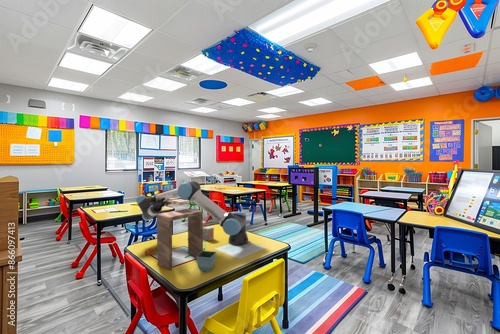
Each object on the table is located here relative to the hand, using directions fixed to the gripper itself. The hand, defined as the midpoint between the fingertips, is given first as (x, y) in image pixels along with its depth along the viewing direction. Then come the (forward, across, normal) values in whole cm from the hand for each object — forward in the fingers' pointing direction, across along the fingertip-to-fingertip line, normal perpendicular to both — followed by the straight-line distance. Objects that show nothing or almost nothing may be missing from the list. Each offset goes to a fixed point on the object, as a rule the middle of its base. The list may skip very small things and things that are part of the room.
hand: (169, 195), depth 163 cm
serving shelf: (-2, +5, -43) cm, 43 cm away
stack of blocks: (-25, -34, -30) cm, 51 cm away
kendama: (-25, +5, -30) cm, 40 cm away
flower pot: (+17, +3, -54) cm, 57 cm away
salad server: (+1, 0, -5) cm, 5 cm away
